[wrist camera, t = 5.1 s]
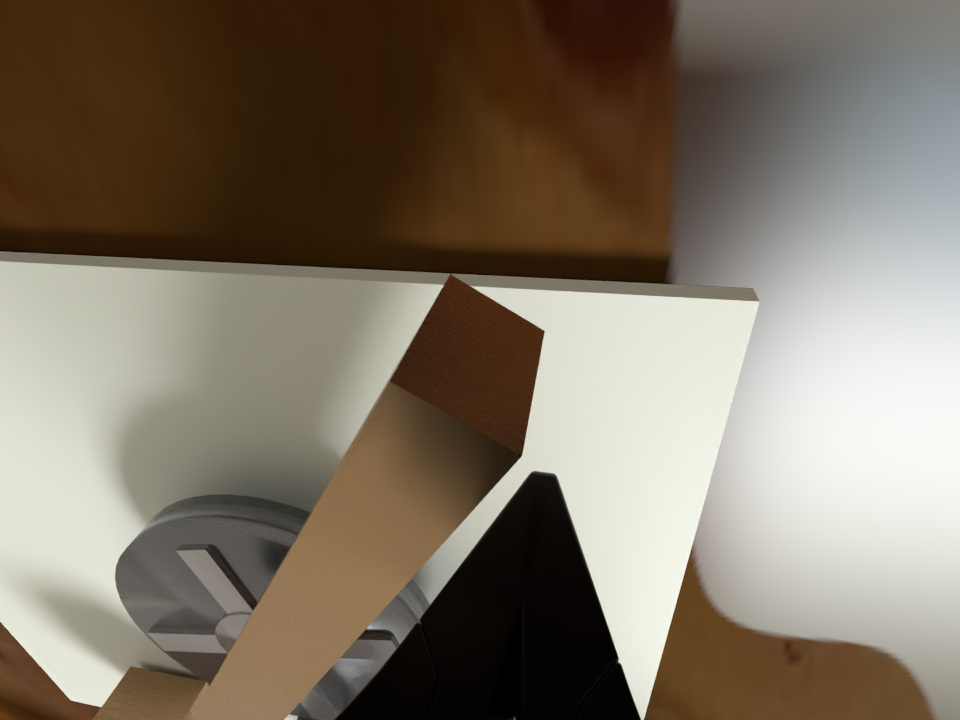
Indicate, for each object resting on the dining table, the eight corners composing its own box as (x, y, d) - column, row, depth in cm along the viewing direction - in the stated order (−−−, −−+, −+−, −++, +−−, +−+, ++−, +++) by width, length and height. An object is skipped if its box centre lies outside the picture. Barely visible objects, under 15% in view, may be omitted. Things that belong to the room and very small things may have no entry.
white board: (752, 287, 11) (775, 332, 10) (615, 803, 26) (616, 852, 24) (-310, 236, 16) (-401, 259, 15) (79, 689, 31) (53, 723, 30)
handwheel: (535, 232, 9) (495, 367, 6) (644, 705, 17) (654, 885, 13) (-54, 351, 14) (-270, 466, 11) (238, 680, 22) (169, 809, 18)
